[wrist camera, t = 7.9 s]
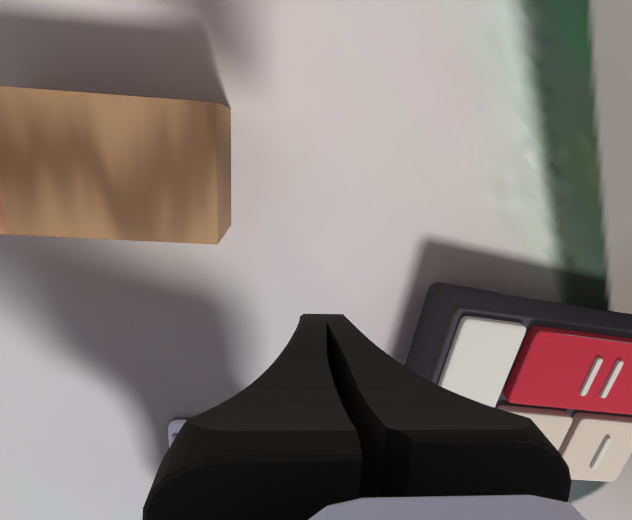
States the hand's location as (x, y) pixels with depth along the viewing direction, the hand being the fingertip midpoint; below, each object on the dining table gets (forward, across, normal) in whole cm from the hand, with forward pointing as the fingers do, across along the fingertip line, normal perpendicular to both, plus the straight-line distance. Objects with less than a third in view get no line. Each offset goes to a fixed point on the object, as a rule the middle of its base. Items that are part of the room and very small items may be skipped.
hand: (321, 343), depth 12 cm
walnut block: (+8, +4, -4) cm, 10 cm away
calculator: (+11, -14, +8) cm, 20 cm away
